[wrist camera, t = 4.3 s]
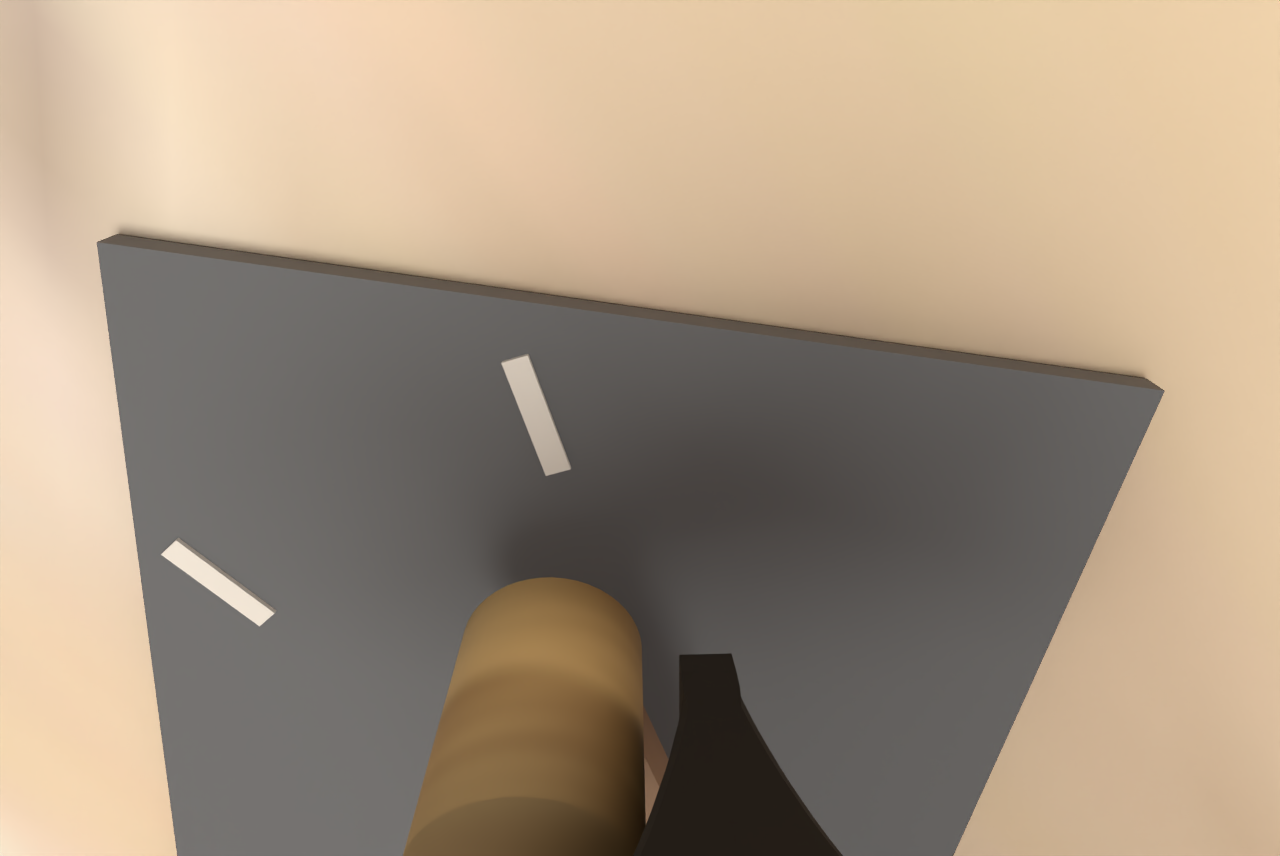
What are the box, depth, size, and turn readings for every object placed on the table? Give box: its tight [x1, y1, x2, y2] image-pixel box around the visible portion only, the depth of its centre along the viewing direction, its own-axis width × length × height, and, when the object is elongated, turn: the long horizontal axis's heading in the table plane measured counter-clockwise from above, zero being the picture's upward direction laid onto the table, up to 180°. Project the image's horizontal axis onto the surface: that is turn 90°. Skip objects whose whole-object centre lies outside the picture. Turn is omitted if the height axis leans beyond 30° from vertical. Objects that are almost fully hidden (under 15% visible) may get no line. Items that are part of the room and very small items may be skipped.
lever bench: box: [97, 234, 1164, 856], centre depth 18 cm, size 21×19×3 cm
